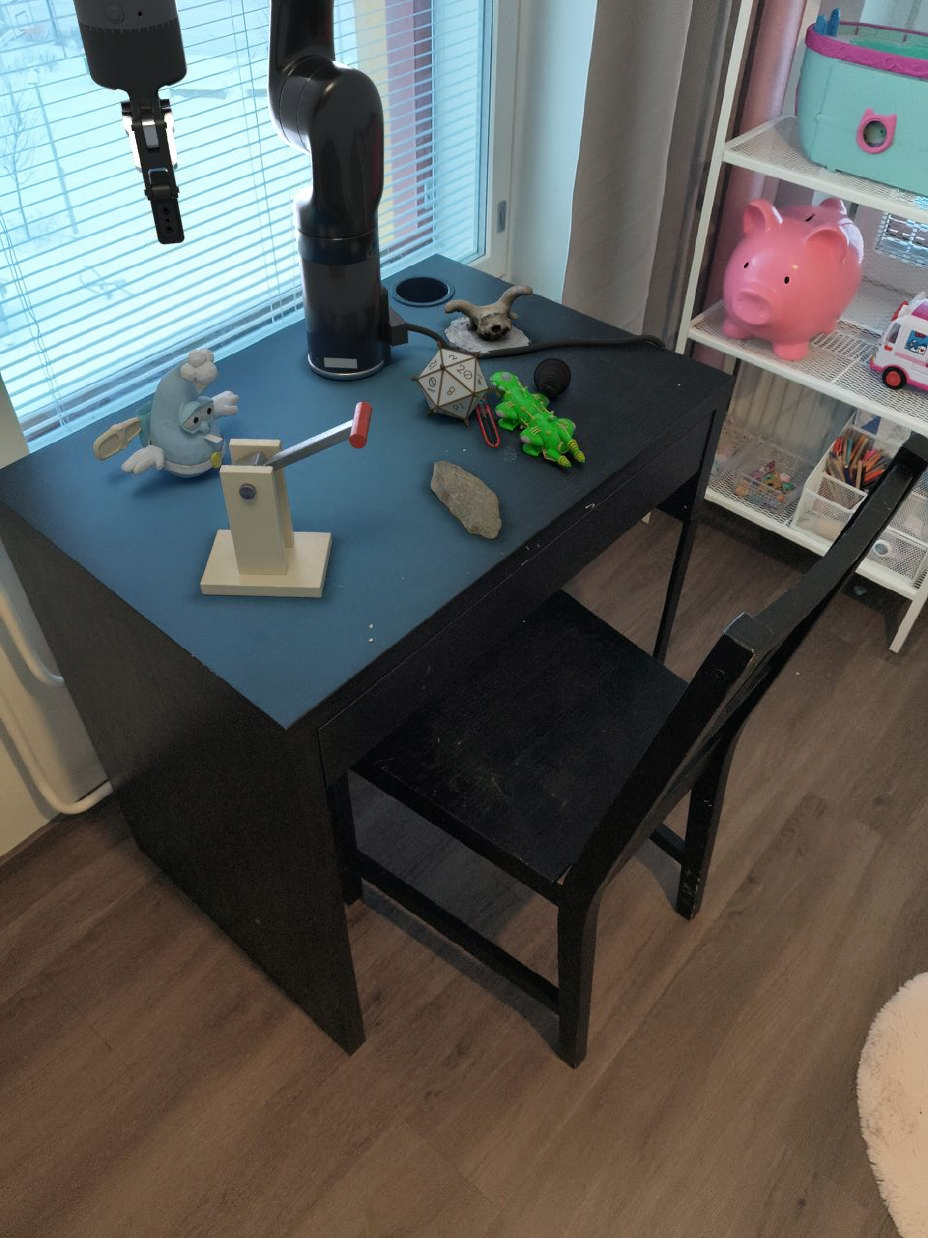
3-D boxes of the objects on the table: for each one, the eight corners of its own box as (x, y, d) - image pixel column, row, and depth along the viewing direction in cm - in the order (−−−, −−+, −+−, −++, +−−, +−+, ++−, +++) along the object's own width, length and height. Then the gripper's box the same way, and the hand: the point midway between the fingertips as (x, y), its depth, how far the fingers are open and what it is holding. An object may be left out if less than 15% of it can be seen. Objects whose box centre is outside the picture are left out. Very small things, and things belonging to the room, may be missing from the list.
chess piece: (558, 402, 117) (555, 417, 108) (526, 383, 117) (520, 396, 108) (578, 369, 116) (577, 382, 107) (546, 349, 115) (541, 360, 106)
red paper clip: (503, 444, 109) (503, 449, 110) (481, 376, 119) (481, 381, 119) (486, 445, 109) (486, 450, 109) (465, 377, 119) (465, 382, 119)
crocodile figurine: (520, 388, 118) (521, 356, 115) (602, 468, 107) (606, 434, 104) (470, 402, 116) (471, 369, 113) (549, 484, 104) (552, 450, 101)
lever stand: (332, 542, 97) (320, 431, 88) (321, 598, 91) (307, 484, 83) (220, 539, 97) (197, 427, 88) (202, 594, 92) (175, 481, 83)
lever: (378, 416, 85) (363, 394, 84) (372, 449, 82) (357, 426, 80) (253, 471, 90) (237, 451, 88) (243, 505, 86) (226, 485, 85)
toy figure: (180, 528, 98) (148, 396, 88) (101, 496, 102) (61, 365, 92) (282, 445, 109) (264, 318, 99) (207, 419, 113) (182, 294, 102)
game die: (467, 437, 117) (522, 375, 112) (438, 450, 110) (495, 384, 105) (415, 382, 118) (467, 318, 112) (382, 392, 110) (436, 324, 105)
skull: (439, 328, 130) (434, 287, 126) (524, 309, 131) (521, 268, 127) (457, 370, 123) (452, 328, 119) (546, 349, 124) (544, 307, 120)
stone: (472, 552, 98) (515, 544, 100) (478, 531, 96) (522, 523, 98) (415, 470, 105) (457, 464, 108) (420, 448, 103) (462, 443, 106)
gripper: (184, 32, 72) (220, 251, 83) (170, -14, 82) (204, 188, 93) (76, 38, 70) (127, 261, 82) (75, -9, 80) (121, 196, 91)
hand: (168, 222), depth 87 cm, fingers open, 8 cm apart
